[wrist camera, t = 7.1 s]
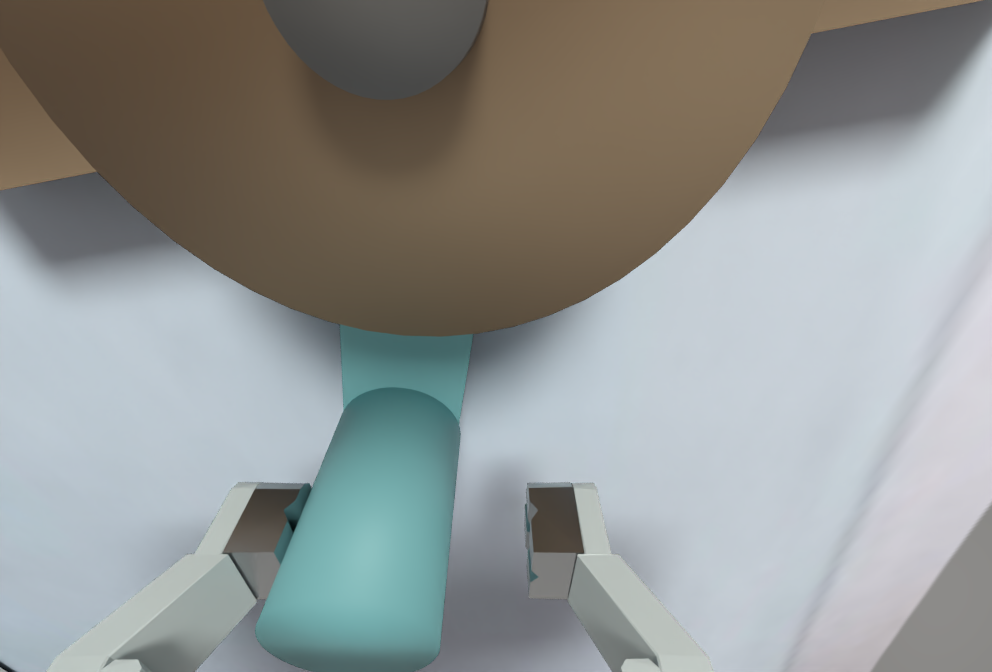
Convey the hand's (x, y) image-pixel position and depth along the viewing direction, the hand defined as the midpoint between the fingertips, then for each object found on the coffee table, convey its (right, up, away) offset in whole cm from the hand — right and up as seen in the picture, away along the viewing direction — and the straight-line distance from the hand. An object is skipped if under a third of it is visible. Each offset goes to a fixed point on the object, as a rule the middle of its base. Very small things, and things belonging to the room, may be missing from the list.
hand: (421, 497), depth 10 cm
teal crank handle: (-1, +3, +3) cm, 4 cm away
